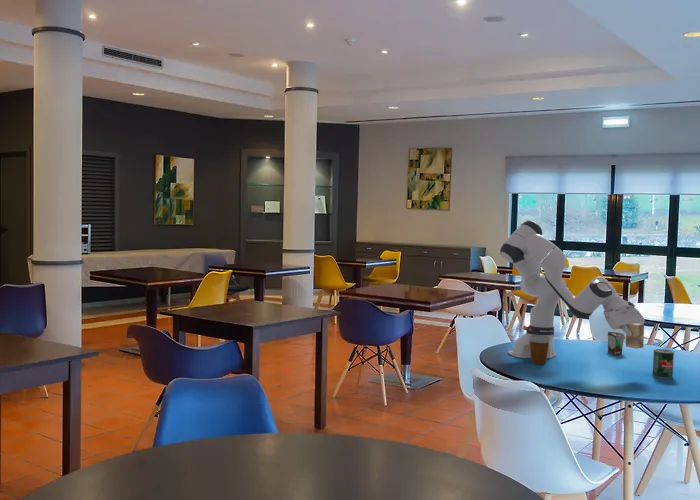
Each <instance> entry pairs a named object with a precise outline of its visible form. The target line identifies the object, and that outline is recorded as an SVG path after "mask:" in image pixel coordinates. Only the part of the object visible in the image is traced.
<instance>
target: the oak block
mask: <svg viewBox="0 0 700 500" xmlns="http://www.w3.org/2000/svg"><path fill="white" fill-rule="evenodd" d="M626 326H627V328H628V329H629V330H630V331H632V332H633V335H632V336H628V335H627V333H625V347H626V348H630V349H631V348H632V349H635V350H638V349H644V345H645V344H644V338H645V336H644V335H645V323H644V324H640V323H629V324H628V325H626Z"/></svg>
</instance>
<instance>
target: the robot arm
mask: <svg viewBox="0 0 700 500" xmlns="http://www.w3.org/2000/svg"><path fill="white" fill-rule="evenodd" d="M499 252H500V255H501V257H502V258H503V259H504V260H505V261H506V262H508V263H510V264H512V265H513V266H514V268H515V269H516V270H517V272H518V274H519V275H520V277H521V278H520V282H519V287H520V290H521V291H522V293H524V294H526V295H528V296H530V297H536V298H538V300H537V303H536V304H535V305H534V306H532V307H531V308H530V313H529V314H530V315H529V317H530V318H529V325H528V326H526V325H523V326H522V330H524V331H526V332H525V333H524V334H523V335H522V336H520V337H519V338H517V339H516V340H515V341H514V343H513V347H512V350H508V354H509V355H510V356H511V357H516V358H519V359H521V358H522V359H531V351H530V341H529V337H530V336H531V335H542V336H548V337H549V339H550V341H549V345H548V351H547V357H546V359H552V358H554V357H556V356H557V355H556V351H555V345H554V343H555V342H554V336H555V326H554V320H555V310H556V307H557V305H558V303H559V301H560V300H562V302H563V303H564V304H565V305H566V307H567V308H568V310H569V311H570V313H571V314H572V315H573V316H574V317H575V318H578V319H583V320H584V319H589V318H590V317H591V316H592V315H593V313H594V312H595V310H597V309H598V308H599V307H600V306H601V305H602V308H603V315H604V318H605V321H606V322H607V324H608V326H609V327H610V329H612V330H613V331H615V330H620V329H621V331H623V332H624V333H625V334H626V333H627V335H628V336H632V335H633V332H632V331H630V330H629V329H628V328H627V326H626V325H628V324H629V323H640V324H644V325H645V322H646V320H645V317H644V316H643V315H642V313H641V312H640V311H639V310H638V309H637V308H636V305H635V304H634V303H633V302H631V301H630V302H629V301H627V300H625V299H624V298H623V297H622V296H620V295H619V294H618V291H617V290H616V288H615V287H614V286H613V285H612V283H611V282H610V281H608V280H607V278H605V277H604V276H596V277H594V278H592V279H591V280H590V281H589V282H588V284H587V285H586V286H584V288H583V289H582V290H581V292H579V293H578V294H577V295H576V296H575V295H574V294H573V292H571V290H570V289H569V288H568V285H567V282H566V281H565V279H563V273H564V269H565V267H566V263H567V262H566V261H567V260H566V255H565V253H564V251H563V250H561V248H559V247H558V246H557V245H556V244H555V243H553V242H552V241H551V240H549V239H548V238H546V237H545V236H543V230H542V227H541V226H540V225H539V224H538V223H537V222H535V221H533V220H526V221H524V222H522V224H520V226H519V227H518V228H516V229H515V231H513V232H512V233H511V234H510V236H509V237H508V238H507V240H506V241H505V242H504V243H502V246H501V247H500V249H499ZM541 268H542V270H543V272H544V274H543V273H541V272H540V271H541Z"/></svg>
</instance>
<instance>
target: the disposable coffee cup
mask: <svg viewBox="0 0 700 500" xmlns="http://www.w3.org/2000/svg"><path fill="white" fill-rule="evenodd" d="M529 341H530V351H531V358H530V360H531V363H532V364H535V365H537V364H538V365H543V364H545V365H546V362H547V358H546V357H547V351H548V345H549V341H550V339H549V337H548V336H542V335H531V336H530V337H529Z"/></svg>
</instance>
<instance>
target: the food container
mask: <svg viewBox="0 0 700 500" xmlns="http://www.w3.org/2000/svg"><path fill="white" fill-rule="evenodd" d="M624 340H626V335H625V334H624V333H622V332H617V331H607V352H608V353H609V354H611V355H614V356H621V355H622V354H623V346H624Z"/></svg>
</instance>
